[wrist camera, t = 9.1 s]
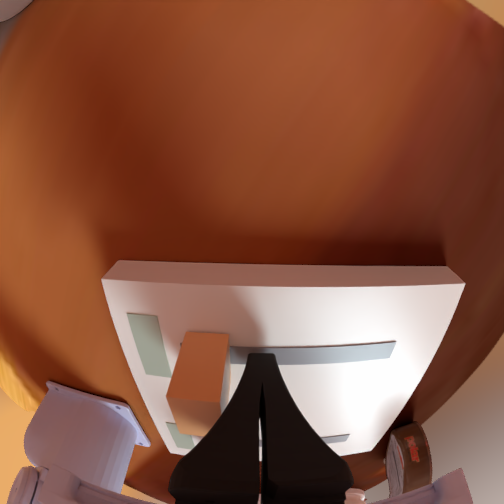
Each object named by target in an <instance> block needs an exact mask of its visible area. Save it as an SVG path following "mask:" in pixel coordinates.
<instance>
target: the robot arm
mask: <svg viewBox="0 0 504 504" xmlns="http://www.w3.org/2000/svg"><path fill="white" fill-rule="evenodd" d="M46 385H47V387H48V388H49V390H48V392H47V394H46V395H45V397H44V399H43V400H42V402H41V404H40V406H39V407H38V409H37V411H36V413H35V415H34V416H33V418H32V420H31V422H30V424H29V426H28V428H27V430H26V433H25V437H24V449H25V453H26V455H27V457H28V459H29V461H30V462H31V463H32V464H33V465H34V466H36V467H35V468H34V467H32V466H28V467H23V468H22V469H21V470H20V471H19V473H18V475H17V477H16V479H15V481H14V483H13V485H12V488H11V491H10V494H9V497H8V501H7V504H155V503H151V502H146V501H143V500H138V499H135V498H132V497H128V496H125V495H122V494H120V493H121V490H122V486H123V483H124V479H125V475H126V472H127V469H128V465H129V462H130V458H131V455H132V452H133V449H134V445H135V444H137V445H142V446H146V447H150V444H151V443H150V441H149V440H148V438H147V437H146V435H145V433H144V432H143V430H142V428H141V426H140V425H139V423H138V421H137V420H136V418H135V416H134V414H133V412H132V411H131V409H130V407H129V406H128V405H127V404H126V403H123V402H119V401H115V400H110V399H106V398H103V397H99V396H95V395H92V394H88V393H85V392H81V391H78V390H75V389H72V388H68V387H65V386H62V385H60V384H57V383H54V382H51V381H47V382H46ZM259 420H260V426H261V437H262V469H261V504H345V502H344V501H345V500H346V494H345V492H346V491H347V490H348V489H349V488H350V487H351V486H352V485H353V484H354V481H353V476H352V473H351V471H350V468H349V466H348V464H347V462H346V461H345V460H343V459H342V458H341V457H340V456H339V455H338V454H336V453H335V452H334V451H333V450H332V449H331V448H330V447H329V446H328V445H327V444H326V443H325V442H324V441H323V440H322V438H321V437H320V436H319V435H318V434H317V433H316V432H315V430H314V429H313V428H312V427H311V426H310V424H309V423H308V422H307V420H306V419H305V417H304V416H303V414H302V413H301V411H300V410H299V408H298V407H297V405H296V403H295V402H294V400H293V398H292V396H291V394H290V393H289V391H288V388H287V386H286V384H285V382H284V380H283V378H282V375H281V373H280V370H279V367H278V364H277V360H276V356H275V354H273V353H250V354H248V358H247V362H246V366H245V369H244V372H243V375H242V377H241V379H240V382H239V384H238V386H237V388H236V390H235V392H234V394H233V396H232V398H231V400H230V402H229V403H228V405H227V407H226V408H225V410H224V411H223V413H222V414H221V416H220V417H219V419H218V420H217V421H216V423H215V424H214V425H213V427H212V428H211V429H210V430H209V432H208V433H207V434H206V435H205V436H204V437H203V438H202V439H201V441H200V442H199V443H198V444H197V445H196V446H195V447H194V448H193V449H192V450H191V451H190V452H188V453H187V454H186V455H185V456H184V457H183V458H182V459H181V460H180V461H179V462H178V464H177V465H176V467H175V469H174V471H173V473H172V475H171V478H170V482H169V487H168V491H169V492H170V494H171V495H172V496H173V497H174V498H175V499H176V501H175V504H258V500H259V487H260V475H259ZM368 504H473V501H472V497H471V494H470V491H469V488H468V485H467V482H466V479H465V476H464V473H463V470H462V469H461V468H459V469H457V470H455V471H453V472H450V473H448V474H446V475H444V476H442V477H440V478H438V479H437V480H436V481H434V482H433V483H432V484H429V485H426V486H424V487H421V488H418V489H416V490H413V491H410V492H407V493H404V494H401V495H398V496H394V497H391V498H387V499H384V500H380V501H376V502H373V503H368Z"/></svg>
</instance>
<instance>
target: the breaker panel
mask: <svg viewBox="0 0 504 504" xmlns="http://www.w3.org/2000/svg"><path fill="white" fill-rule="evenodd" d="M101 280H102V284H103V288H104V292H105V295H106V299H107V302H108V306H109V309H110V313H111V316H112V319H113V322H114V325H115V328H116V331H117V334H118V337H119V340H120V343H121V346H122V349H123V351H124V354H125V357H126V359H127V362H128V365H129V367H130V370H131V372H132V375H133V377H134V379H135V382H136V384H137V387H138V389H139V391H140V393H141V396H142V398H143V400H144V402H145V404H146V407H147V409H148V411H149V413H150V415H151V417H152V419H153V421H154V423H155V425H156V427H157V429H158V431H159V433H160V435H161V437H162V439H163V440H164V442H165V444H166V446H167V448H168V449H169V451H170V453H174V454H181V455H186V454H187V453H188V452H190V451H191V450H192V449H193V448H194V447H195V446H196V445H197V444H198V443H199V442H200V441H201V439H202V438H203V437H204V436H195V435H187V434H180V433H179V430H178V428H177V425H176V423H175V420H174V418H173V415H172V412H171V410H170V407H169V404H168V402H167V399H166V394H167V391H168V387H169V384H170V381H171V377H172V374H173V371H174V368H175V364H176V361H177V358H178V355H179V352H180V348H181V345H182V342H183V339H184V336H185V333H186V332H199V333H216V334H229V346H230V364H231V383H230V392H229V402H230V400H231V398H232V396H233V394H234V392H235V390H236V388H237V386H238V384H239V382H240V379H241V377H242V375H243V372H244V369H245V366H246V362H247V358H248V354H250V353H273V354H275V356H276V360H277V364H278V367H279V370H280V373H281V375H282V378H283V380H284V382H285V384H286V386H287V388H288V391H289V393H290V394H291V396H292V398H293V400H294V402H295V403H296V405H297V407H298V408H299V410H300V411H301V413H302V414H303V416H304V417H305V419H306V420H307V422H308V423H309V424H310V426H311V427H312V428H313V429H314V430H315V432H316V433H317V434H318V435H319V436H320V437H321V438H322V440H323V441H324V442H325V443H326V444H327V445H328V446H329V447H330V448H331V449H332V450H333V451H334V452H335V453H336V454H338V455H339V456H342V455H349V454H355V453H361V452H366V451H371V450H372V449H373V448H374V447H375V445H376V444H377V443H378V442H379V440H380V439H381V438H382V436H383V435H384V434H385V433H386V431H387V430H388V428H389V427H390V426H391V424H392V423H393V422H394V420H395V419H396V417H397V416H398V414H399V413H400V412H401V410H402V409H403V407H404V406H405V404H406V403H407V401H408V399H409V398H410V396H411V395H412V393H413V392H414V390H415V388H416V387H417V385H418V383H419V382H420V380H421V378H422V377H423V375H424V373H425V371H426V369H427V368H428V366H429V364H430V362H431V360H432V358H433V356H434V355H435V353H436V351H437V349H438V347H439V345H440V343H441V341H442V339H443V336H444V334H445V332H446V330H447V328H448V326H449V323H450V321H451V319H452V316H453V314H454V312H455V309H456V307H457V304H458V302H459V299H460V297H461V294H462V291H463V288H464V286H465V283H464V282H463V281H462V280H461V279H460V278H459V277H458V276H457V275H456V274H455V273H454V272H453V271H452V270H451V269H450V268H448V267H447V266H335V265H273V264H228V263H191V262H158V261H129V260H118V261H117V262H116V263H115V264H114V266H113V267H112V268H111V269H110V270H109V271H108V272H107V273H106V274H105V275H104V276H103V278H102V279H101ZM229 402H228V403H229ZM259 461H262V437H261V426H260V420H259Z"/></svg>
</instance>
